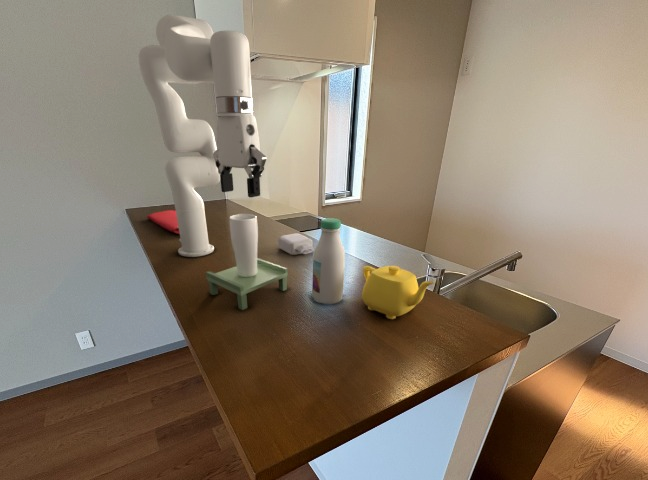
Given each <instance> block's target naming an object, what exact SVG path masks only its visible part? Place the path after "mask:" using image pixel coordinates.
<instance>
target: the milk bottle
mask: <svg viewBox="0 0 648 480" xmlns="http://www.w3.org/2000/svg"><path fill="white" fill-rule="evenodd" d="M341 228H342V221H341V220H340V219H339V218H333V217H328V218H327V217H326V218H323V219H321V220H320V231H321V232H320V233H321V234H320V236H319V238H318V242H317V243H316V245H315V247H314V252H313V260H312V289H311V291H312V292H311V293H312V294H311V296H312V299H313V300H314V301H315V302H317V303H319V304H323V305H333V304H337V303H340V301H342V299H343V294H344V281H345V266H346V252H345V247H344V244H343V243H342V239H341V236H340V231H341Z"/></svg>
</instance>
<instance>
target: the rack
mask: <svg viewBox="0 0 648 480" xmlns="http://www.w3.org/2000/svg"><path fill="white" fill-rule="evenodd" d="M288 272H289V269H288V267H285V266H282V265H280V264H276V263H274V262H270V261H268V260H264V259H262V258H260V257H259V258H258V257H257V274H256V275H255V276H252V277H241V276H239V275H238V274H237V267H236V266H233V267H230V268H227V269H225V270H221V271H218V272H213V271H210V270H208V271H206V272H205V275H206V276H205V277H206V280H207V281H208V287H209V294H210V295H212V296H216V295H218V294H219V288H218V286H220V287H221V288H223V289H225V290H228V291H230V292H232V293H234V294H236V296H237V307H238V309H239V310H241V311H244V310H246V309H248V297H247V294H248V293H251V292H254V291H256V290H259V289H260V288H263V287H265V286H268V285H270V284H272V283H275V282H277V281H278V290H279V291H281V292H285V291H287V290H288V278H287V277H288V276H289V273H288Z"/></svg>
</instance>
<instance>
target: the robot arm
mask: <svg viewBox="0 0 648 480" xmlns="http://www.w3.org/2000/svg"><path fill="white" fill-rule="evenodd" d="M155 35H156V39H157V42H158V44H149V45H145V46H143V47H141V48H140V50H139V53H138V64H139V69H140V74H141V77H142V80H143V83H144V85H145V87H146V89H147V91H148V93H149V96H150V97H151V99H152V102H153V104H154V107H155V110H156V115H157V118H158V119H157V120H158V123H159V129H160V132H161V133H160V134H161V137H162V141H163V144H164V146H165V148H166V149H167V151H169V152H172V153H178V154H179V153H180V154H181V153H183V154H184V153H185V154H186V153H198V154H199V155H194V156H193V155H187V156H175V157H171V158H170V159H168V160H167V161H166V163H165V166H164V167H165V168H164V169H165V175H166V178H167V181H168V184H169V187H170V191H171V194H172V199H173V203H174V209H175V210H174V211H176V216H177V221H178V227H179V233H180V234H179V239H178V242H179V243H181V247H179V248H178V250H177V252H178V255H179V256H181V257H186V258H195V257H196V258H197V257H204V256H207V255H211V253H213V252H214V250H215V247H214V245H213V244H210V242H209V235H208V227H207V219H206V212H205V203H204V200H203V199H202V196H200V194H199V193H198V192H196V190H195V189H196V188H201V187H202V188H203V187H212V186H216V185H218V184H219V183H220V188H221V189H220V190H221V192H222V193H228V192H229V193H230V192H234V190H235V189H234V178H233V173H231V171H232V169H233V168H234V169H244V171H245V172H246V174H247V176H248V177H246V186H247V188H246V189H247V197H248V198H255V197H260V196H261V180H260V178H262V175H263V172H264V170H265V166H266V162H267V156H266V155H265V154H264V153H263V152H262V151H261V145H260V144H261V143H260V135H259V129H258V123H257V120H256V116H254V114H253V112H254V111H253V107H254V103H253V91H252V71H251V70H252V69H251V52H250V51H251V49H250V42H249V39H248V37H247V36H246V34H244V33H242V32H240V31H236V30H219V31H215V32H214V30H213V28H212V26H211V25H210V24H209V23H208V22H207V21H206V20H204V19H200V18H196V17H188V16H184V15H177V14H166V15H163V16H162V17H161V18H159V20H158V21H157V23H156V27H155ZM169 83H171V84H173V83H175V84H187V85H198V84H200V83H206V84H213V89H214V90H213V93H214V101H215V111H216V113H215V114H216V139H215V134H214V131H213V128H212V126H211V124H209V122H208V121H207V120H204V119H199V118H197V119H196V118H195V119H194V118H189V117H187V114H186V108H185V105H184V101H183V99H182V98H181V96H180V95H179V94H178V92H177V91H176V90H175V89H174V88H173V87H172V86H171V85H170V84H169Z"/></svg>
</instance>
